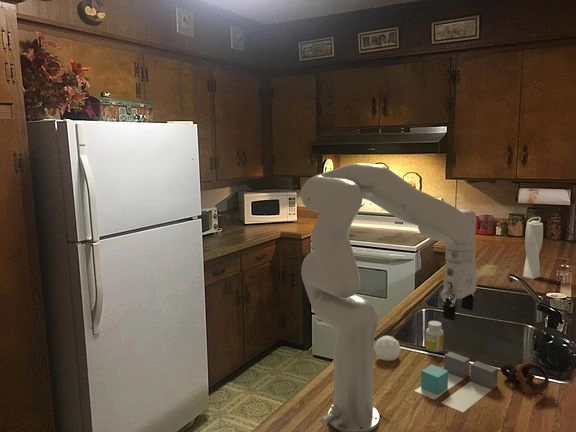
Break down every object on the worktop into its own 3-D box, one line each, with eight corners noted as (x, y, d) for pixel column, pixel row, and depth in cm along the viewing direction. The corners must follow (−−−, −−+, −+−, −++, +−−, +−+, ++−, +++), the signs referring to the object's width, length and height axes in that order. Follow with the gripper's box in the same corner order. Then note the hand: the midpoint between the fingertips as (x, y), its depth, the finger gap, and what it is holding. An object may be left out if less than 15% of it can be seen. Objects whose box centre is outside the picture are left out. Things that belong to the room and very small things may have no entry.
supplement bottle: (429, 356, 150) (429, 327, 148) (422, 348, 155) (423, 320, 153) (445, 354, 150) (446, 326, 149) (438, 347, 156) (439, 319, 154)
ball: (383, 365, 151) (383, 339, 154) (405, 363, 145) (405, 337, 149) (369, 360, 146) (369, 334, 150) (391, 358, 141) (391, 331, 144)
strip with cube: (433, 403, 124) (434, 381, 123) (414, 394, 128) (414, 373, 127) (468, 378, 136) (469, 358, 135) (449, 370, 140) (450, 351, 139)
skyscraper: (528, 273, 231) (531, 215, 226) (543, 276, 224) (548, 217, 220) (519, 276, 226) (522, 217, 221) (535, 280, 220) (539, 220, 215)
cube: (437, 395, 126) (438, 377, 125) (421, 387, 129) (421, 370, 129) (447, 388, 129) (448, 370, 128) (431, 381, 133) (431, 364, 132)
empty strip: (462, 416, 118) (463, 393, 117) (440, 406, 122) (441, 384, 121) (496, 389, 130) (497, 368, 129) (475, 380, 134) (476, 360, 133)
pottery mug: (543, 382, 134) (554, 366, 128) (539, 411, 127) (549, 395, 122) (498, 364, 138) (506, 348, 133) (492, 391, 132) (500, 375, 127)
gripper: (456, 263, 122) (454, 327, 125) (488, 250, 133) (486, 308, 137) (430, 258, 128) (429, 319, 131) (463, 246, 139) (461, 302, 142)
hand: (458, 313), depth 134 cm, fingers open, 9 cm apart
